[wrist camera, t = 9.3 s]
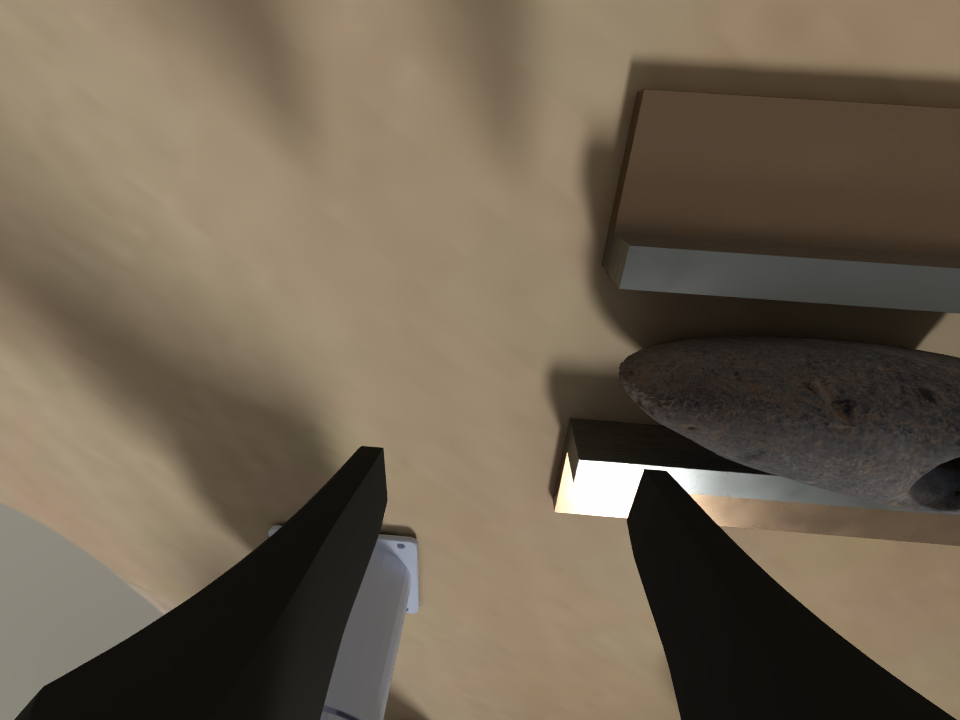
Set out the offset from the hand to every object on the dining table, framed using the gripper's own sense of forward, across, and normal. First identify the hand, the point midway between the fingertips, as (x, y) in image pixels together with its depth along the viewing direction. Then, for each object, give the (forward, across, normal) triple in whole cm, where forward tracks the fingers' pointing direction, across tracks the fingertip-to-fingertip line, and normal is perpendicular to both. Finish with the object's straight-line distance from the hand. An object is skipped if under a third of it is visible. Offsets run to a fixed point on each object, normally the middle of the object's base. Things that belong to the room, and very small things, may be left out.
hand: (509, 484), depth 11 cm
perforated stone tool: (+9, -12, 0) cm, 15 cm away
